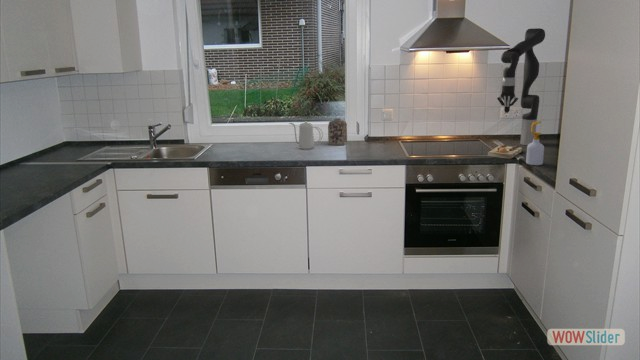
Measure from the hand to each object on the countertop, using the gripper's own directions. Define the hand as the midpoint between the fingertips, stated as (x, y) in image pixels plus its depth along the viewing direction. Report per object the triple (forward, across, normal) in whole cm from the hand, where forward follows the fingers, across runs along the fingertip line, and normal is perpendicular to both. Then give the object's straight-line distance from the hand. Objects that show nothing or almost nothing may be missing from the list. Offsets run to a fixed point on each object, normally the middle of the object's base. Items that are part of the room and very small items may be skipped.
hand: (506, 112), depth 328 cm
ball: (+22, -3, +14) cm, 26 cm away
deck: (+25, -3, +8) cm, 26 cm away
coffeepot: (+24, +120, +52) cm, 133 cm away
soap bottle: (+25, -24, +26) cm, 43 cm away
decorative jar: (+24, +109, +29) cm, 115 cm away
